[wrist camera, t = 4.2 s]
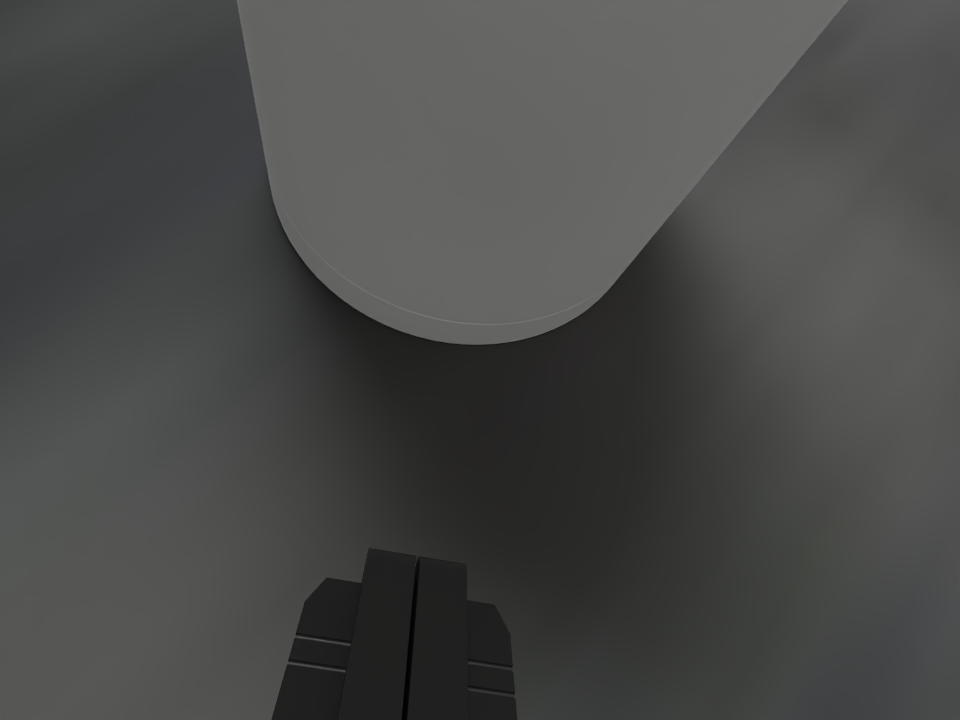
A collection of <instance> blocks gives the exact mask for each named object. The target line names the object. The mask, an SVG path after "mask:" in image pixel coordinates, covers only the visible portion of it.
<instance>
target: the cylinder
mask: <svg viewBox="0 0 960 720" xmlns="http://www.w3.org/2000/svg"><path fill="white" fill-rule="evenodd" d="M847 1H848V0H237V5H238V10H239V16H240V21H241V27H242V32H243V38H244V44H245V49H246V55H247V60H248V66H249V71H250V77H251V82H252V88H253V94H254V99H255V105H256V110H257V116H258V121H259V127H260V132H261V138H262V144H263V149H264V155H265V160H266V166H267V171H268V177H269V182H270V188H271V192H272V197H273V202H274V205H275V208H276V211H277V214H278V217H279V219H280V222H281V224H282V226H283V229H284V231H285V233H286V234H287V236H288V238H289V240H290V242H291V244H292V245H293V247H294V248H295V250H296V252H297V253H298V255H299V256H300V257H301V259H302V260H303V261H304V263H305V264H306V265H307V267H308V268H309V269H310V270H311V271H312V272H313V273H314V274H315V275H316V277H317V278H318V279H319V280H320V281H321V282H322V283H323V284H324V285H326V286H327V287H328V288H329V289H330V290H331V291H332V292H333V293H335V294H336V295H337V296H338V297H340V298H341V299H342V300H343V301H345V302H346V303H348V304H349V305H351V306H352V307H353V308H355V309H356V310H358V311H360V312H361V313H363V314H365V315H366V316H368V317H370V318H372V319H374V320H376V321H378V322H380V323H382V324H384V325H386V326H389V327H391V328H394V329H396V330H398V331H401V332H404V333H407V334H410V335H413V336H417V337H421V338H425V339H429V340H434V341H440V342H445V343H454V344H468V345H484V344H498V343H506V342H513V341H518V340H522V339H527V338H530V337H533V336H537V335H540V334H543V333H545V332H548V331H551V330H553V329H555V328H557V327H559V326H561V325H564V324H566V323H567V322H569V321H571V320H572V319H574V318H576V317H577V316H579V315H580V314H582V313H583V312H585V311H586V310H587V309H589V308H590V307H591V306H592V305H593V304H595V303H596V302H597V301H598V300H599V299H600V298H601V297H602V296H603V295H604V294H605V293H606V292H607V291H608V290H609V289H610V288H611V286H612V285H613V284H614V283H615V282H616V280H617V279H618V278H619V277H620V275H621V274H622V273H623V272H624V271H625V269H626V268H627V267H628V266H629V265H630V263H631V262H632V261H633V260H634V259H635V257H636V256H637V255H638V254H639V252H640V251H641V250H642V249H643V248H644V246H645V245H646V244H647V243H648V242H649V240H650V239H651V238H652V237H653V236H654V234H655V233H656V232H657V231H658V229H659V228H660V227H661V226H662V225H663V223H664V222H665V221H666V220H667V219H668V217H669V216H670V215H671V214H672V213H673V211H674V210H675V209H676V208H677V206H678V205H679V204H680V203H681V202H682V200H683V199H684V198H685V197H686V196H687V194H688V193H689V192H690V191H691V190H692V188H693V187H694V186H695V185H696V183H697V182H698V181H699V180H700V179H701V177H702V176H703V175H704V174H705V173H706V171H707V170H708V169H709V168H710V167H711V165H712V164H713V163H714V162H715V160H716V159H717V158H718V157H719V156H720V154H721V153H722V152H723V151H724V150H725V148H726V147H727V146H728V145H729V144H730V142H731V141H732V140H733V139H734V137H735V136H736V135H737V134H738V133H739V131H740V130H741V129H742V128H743V127H744V125H745V124H746V123H747V122H748V121H749V119H750V118H751V117H752V116H753V115H754V113H755V112H756V111H757V110H758V108H759V107H760V106H761V105H762V104H763V102H764V101H765V100H766V99H767V98H768V96H769V95H770V94H771V93H772V92H773V90H774V89H775V88H776V87H777V85H778V84H779V83H780V82H781V81H782V79H783V78H784V77H785V76H786V75H787V73H788V72H789V71H790V70H791V69H792V67H793V66H794V65H795V64H796V62H797V61H798V60H799V59H800V58H801V56H802V55H803V54H804V53H805V52H806V50H807V49H808V48H809V47H810V46H811V44H812V43H813V42H814V41H815V39H816V38H817V37H818V36H819V35H820V33H821V32H822V31H823V30H824V29H825V27H826V26H827V25H828V24H829V23H830V21H831V20H832V19H833V18H834V16H835V15H836V14H837V13H838V12H839V10H840V9H841V8H842V7H843V6H844V4H845V3H846V2H847Z"/></svg>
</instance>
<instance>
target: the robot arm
mask: <svg viewBox="0 0 960 720" xmlns="http://www.w3.org/2000/svg"><path fill="white" fill-rule="evenodd" d="M415 564H416V567H415ZM512 666H513V664H512V652H511V639H510V633H509V631H508V629H507V627H506V625H505V624H504V622H503V620H502V618H501V616H500V614H499V612H498V610H497V609H496V607H495V605H492V604H486V603H480V602H474V601H468V600H467V568H466V565H465V564H462V563H456V562H450V561H444V560H438V559H433V558H427V557H421V556H419V558H418V560H417V563H416V556H414V555H408V554H402V553H396V552H390V551H384V550H378V549H372V548H369V550H368V554H367V559H366V564H365V568H364V573H363V578H362V582H361V583H356V582H350V581H344V580H338V579H332V578H326V579H325V580H324V581H323V582H322V583H321V584H320V585H319V587H318V588H317V589H316V590H315V591H314V592H313V593H312V594H311V595H310V597H309V598H308V599H307V600H306V601H305V603H304V607H303V610H302V614H301V617H300V621H299V624H298V628H297V631H296V636H295V639H294V642H293V645H292V649H291V653H290V656H289V660H288V664H287V667H286V670H285V674H284V677H283V681H282V684H281V688H280V691H279V695H278V699H277V702H276V706H275V709H274V713H273V716H272V720H517V714H516V701H515V699H514V693H515V689H514V676H513V672H512Z"/></svg>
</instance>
